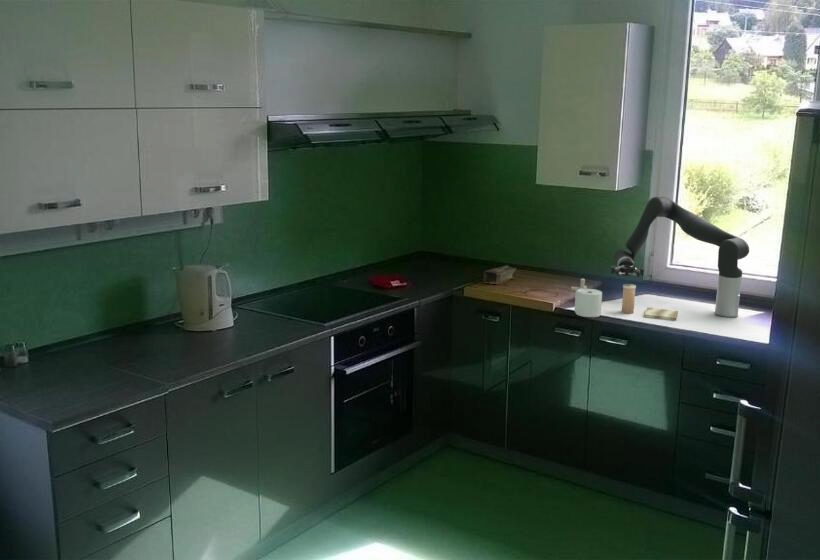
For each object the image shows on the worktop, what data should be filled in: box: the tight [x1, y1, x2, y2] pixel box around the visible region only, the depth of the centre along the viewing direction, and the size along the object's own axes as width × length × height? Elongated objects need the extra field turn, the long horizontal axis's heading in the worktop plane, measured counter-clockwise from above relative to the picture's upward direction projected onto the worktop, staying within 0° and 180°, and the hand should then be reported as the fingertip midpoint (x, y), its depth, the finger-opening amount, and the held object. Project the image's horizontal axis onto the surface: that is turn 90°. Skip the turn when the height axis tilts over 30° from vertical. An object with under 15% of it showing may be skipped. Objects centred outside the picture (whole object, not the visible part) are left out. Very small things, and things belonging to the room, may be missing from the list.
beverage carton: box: [482, 265, 517, 283], centre depth 406 cm, size 8×19×7 cm, turn 141°
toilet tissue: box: [574, 288, 603, 318], centre depth 349 cm, size 11×12×10 cm
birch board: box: [643, 307, 679, 321], centre depth 349 cm, size 13×12×1 cm
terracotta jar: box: [621, 283, 637, 315], centre depth 352 cm, size 5×5×12 cm
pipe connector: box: [570, 278, 588, 292], centre depth 371 cm, size 10×10×10 cm
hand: (628, 274), depth 361 cm, fingers open, 8 cm apart
